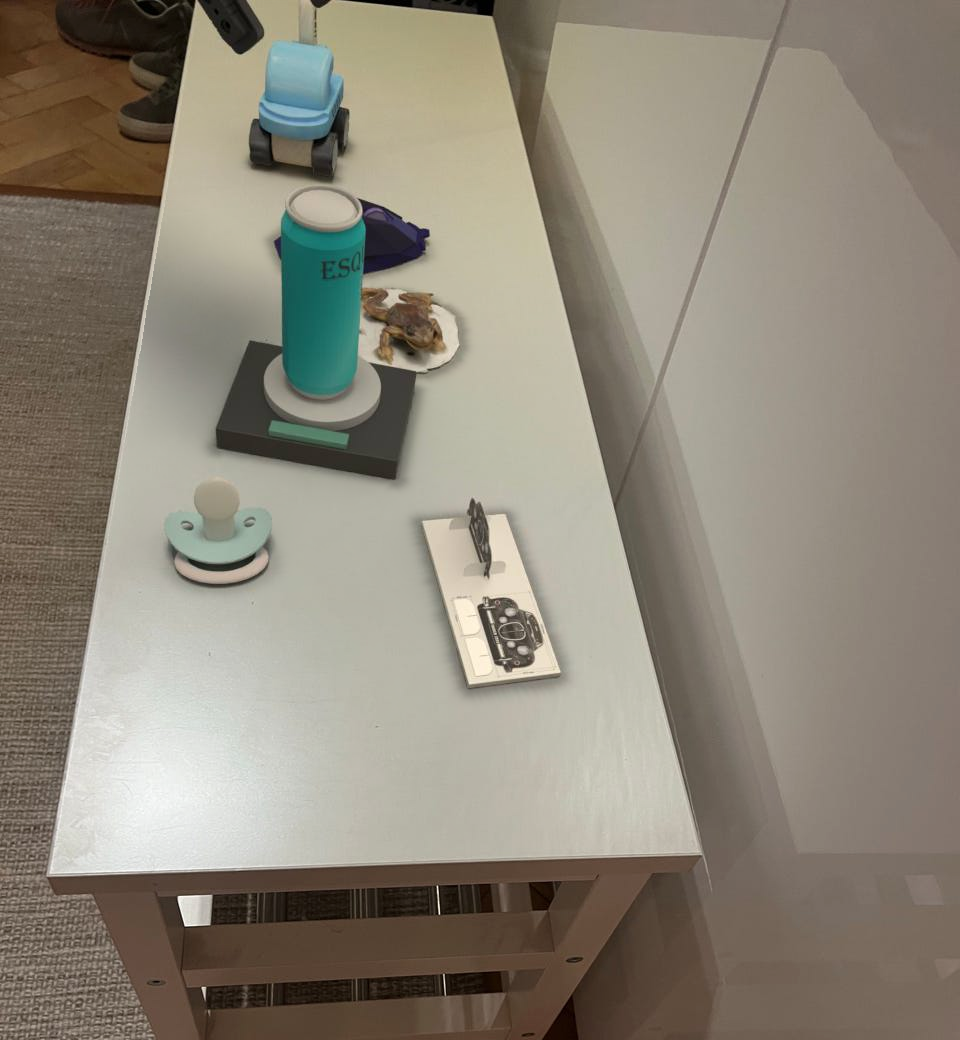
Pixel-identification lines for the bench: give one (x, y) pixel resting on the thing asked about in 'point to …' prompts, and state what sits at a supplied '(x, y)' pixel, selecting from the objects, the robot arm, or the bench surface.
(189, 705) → the bench surface
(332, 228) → the beverage can
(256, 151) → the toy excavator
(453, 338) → the frog figurine
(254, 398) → the scale
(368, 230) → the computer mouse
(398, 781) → the bench surface
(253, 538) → the pacifier
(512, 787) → the bench surface
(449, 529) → the car cutout
